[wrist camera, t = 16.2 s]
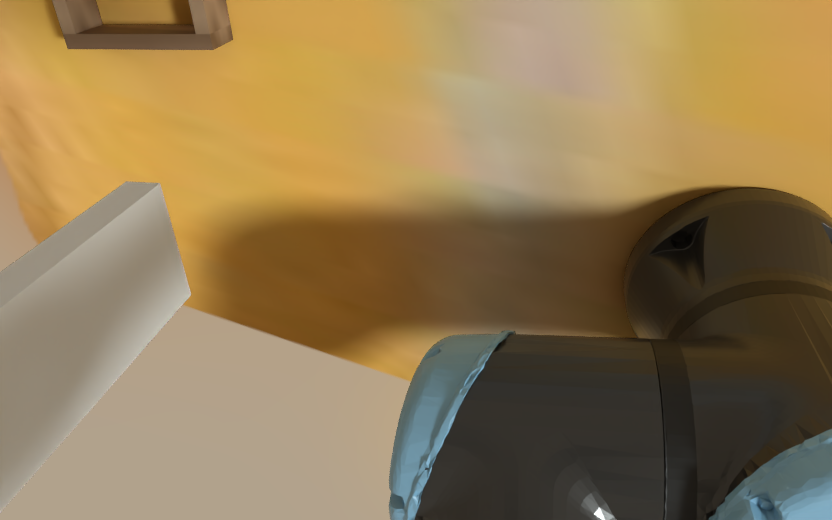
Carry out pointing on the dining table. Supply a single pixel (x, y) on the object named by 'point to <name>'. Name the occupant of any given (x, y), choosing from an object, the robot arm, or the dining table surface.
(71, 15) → the walnut collar
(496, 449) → the robot arm
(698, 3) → the dining table surface
